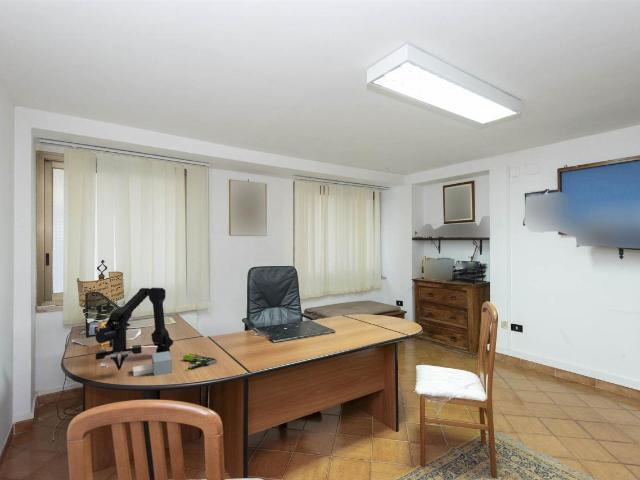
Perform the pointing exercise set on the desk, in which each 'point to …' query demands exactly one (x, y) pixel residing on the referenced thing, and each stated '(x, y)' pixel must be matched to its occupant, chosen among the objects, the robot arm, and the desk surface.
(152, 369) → the tile
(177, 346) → the desk surface
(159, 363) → the overhang
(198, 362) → the toy gun
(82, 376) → the desk surface
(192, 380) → the desk surface
